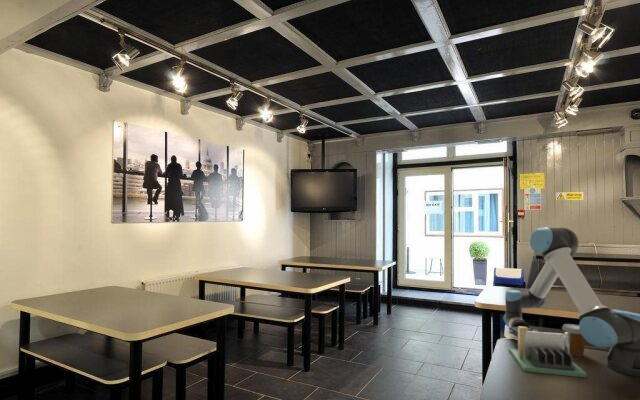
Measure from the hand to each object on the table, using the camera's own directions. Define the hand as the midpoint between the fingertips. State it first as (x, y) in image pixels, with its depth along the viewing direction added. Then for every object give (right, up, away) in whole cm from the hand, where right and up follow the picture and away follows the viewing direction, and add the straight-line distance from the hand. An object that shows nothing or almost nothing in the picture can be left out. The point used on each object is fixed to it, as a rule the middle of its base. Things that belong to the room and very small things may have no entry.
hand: (535, 342), depth 161 cm
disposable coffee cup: (+23, -9, +9) cm, 26 cm away
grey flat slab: (+2, -6, -3) cm, 7 cm away
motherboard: (+2, -8, -3) cm, 8 cm away
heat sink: (+1, -6, -7) cm, 9 cm away
